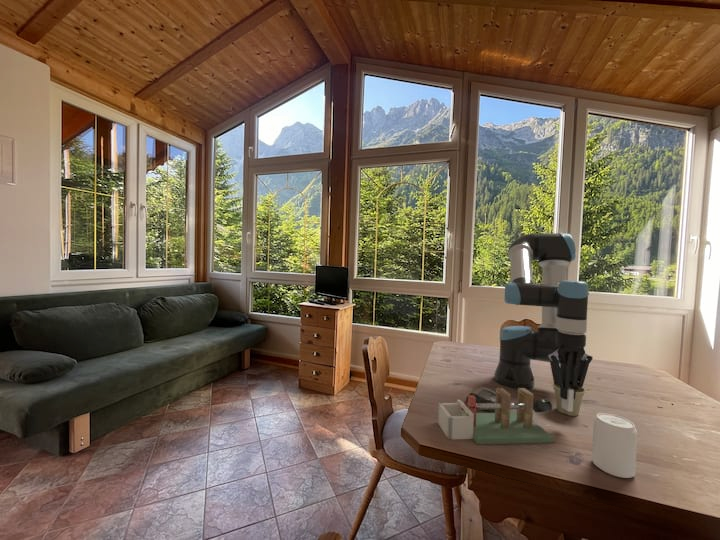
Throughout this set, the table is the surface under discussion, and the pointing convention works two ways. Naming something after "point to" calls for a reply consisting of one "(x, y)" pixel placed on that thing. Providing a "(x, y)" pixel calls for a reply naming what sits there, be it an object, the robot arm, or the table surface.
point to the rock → (484, 396)
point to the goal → (455, 420)
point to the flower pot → (575, 401)
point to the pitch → (507, 431)
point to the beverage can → (614, 445)
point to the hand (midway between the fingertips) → (567, 409)
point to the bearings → (522, 414)
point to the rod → (538, 406)
